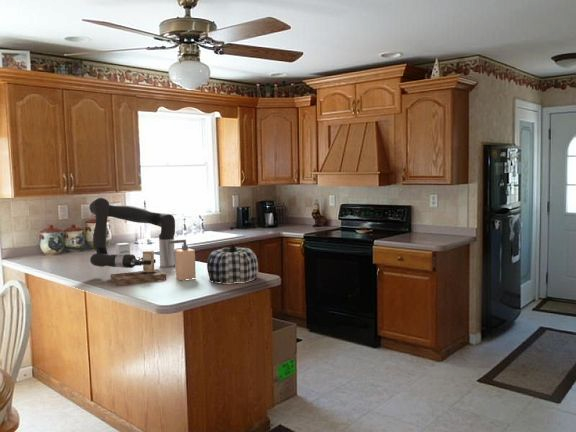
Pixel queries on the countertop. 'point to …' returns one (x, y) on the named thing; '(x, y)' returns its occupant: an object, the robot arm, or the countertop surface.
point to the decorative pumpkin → (232, 265)
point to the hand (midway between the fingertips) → (153, 261)
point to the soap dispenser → (184, 261)
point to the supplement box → (122, 248)
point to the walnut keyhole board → (137, 277)
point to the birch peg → (148, 257)
